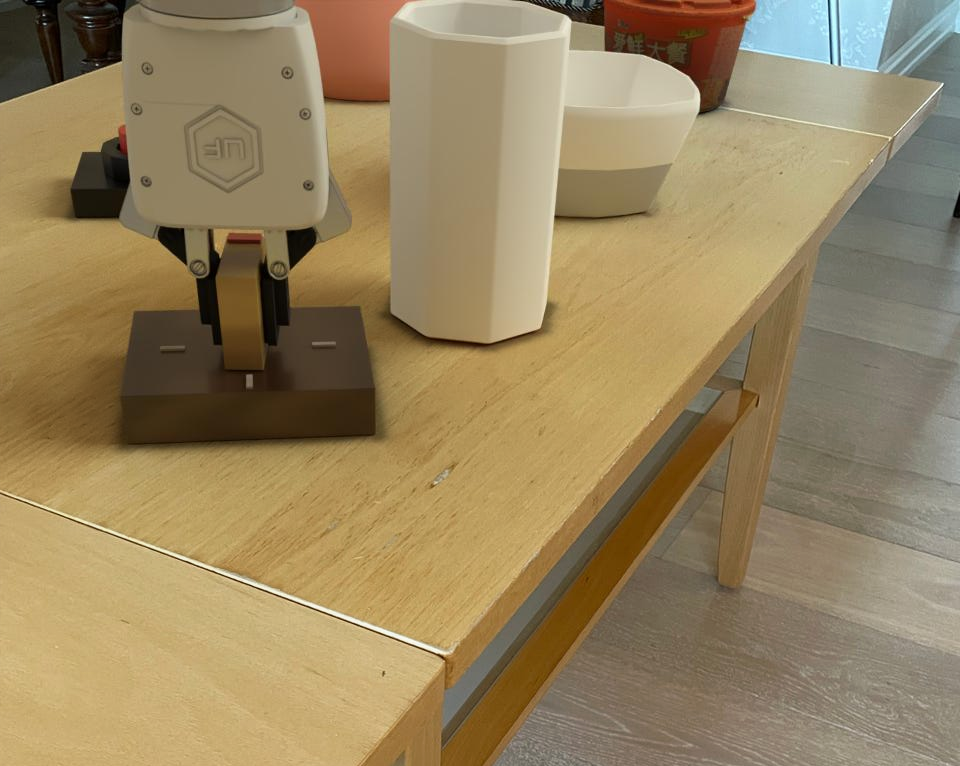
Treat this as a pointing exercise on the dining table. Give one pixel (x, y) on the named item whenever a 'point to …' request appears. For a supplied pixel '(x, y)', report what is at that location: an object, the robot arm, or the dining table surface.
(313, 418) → the plate
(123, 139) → the button
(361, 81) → the teapot
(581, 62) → the bowl
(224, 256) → the lock knob
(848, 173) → the dining table surface
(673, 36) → the food container
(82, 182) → the button block
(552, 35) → the cup
